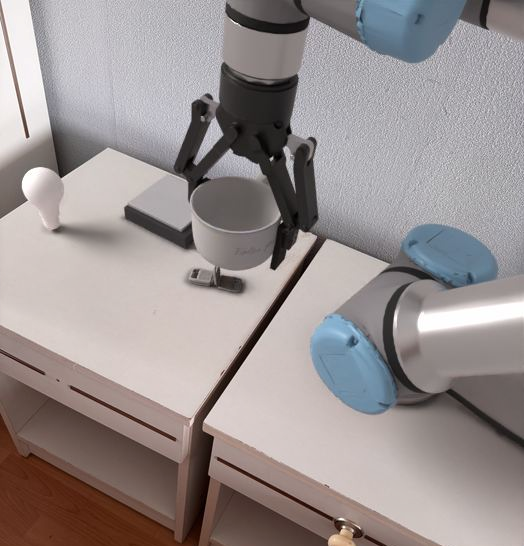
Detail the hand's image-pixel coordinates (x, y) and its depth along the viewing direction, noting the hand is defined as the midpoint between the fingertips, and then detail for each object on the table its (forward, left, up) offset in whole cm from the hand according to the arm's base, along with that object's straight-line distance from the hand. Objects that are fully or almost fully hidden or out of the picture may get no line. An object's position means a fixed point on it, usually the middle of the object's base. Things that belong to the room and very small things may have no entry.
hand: (238, 244), depth 66 cm
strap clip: (+7, -7, -16) cm, 19 cm away
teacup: (0, 0, 0) cm, 1 cm away
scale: (+22, -17, -16) cm, 32 cm away
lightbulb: (+36, -1, -16) cm, 40 cm away
